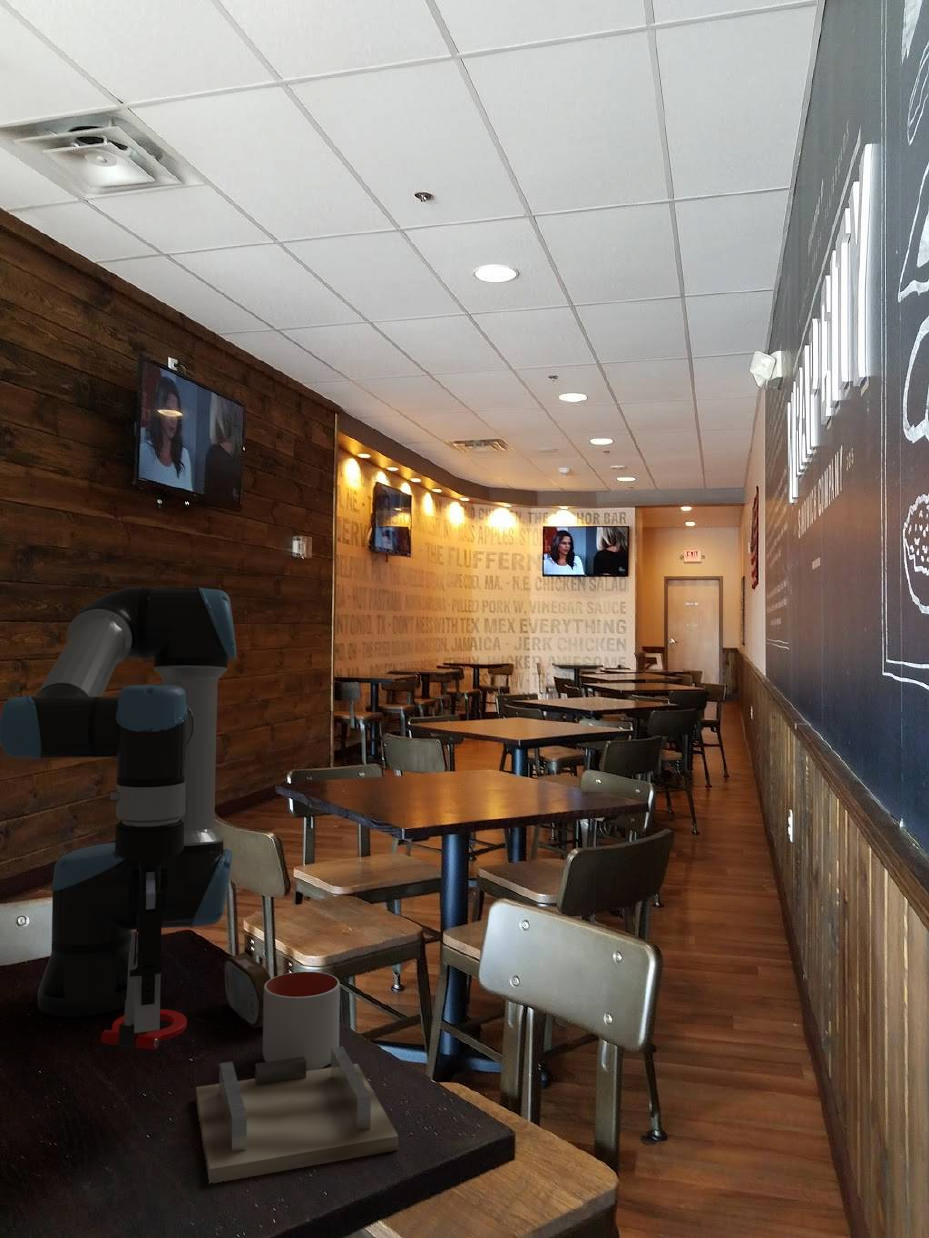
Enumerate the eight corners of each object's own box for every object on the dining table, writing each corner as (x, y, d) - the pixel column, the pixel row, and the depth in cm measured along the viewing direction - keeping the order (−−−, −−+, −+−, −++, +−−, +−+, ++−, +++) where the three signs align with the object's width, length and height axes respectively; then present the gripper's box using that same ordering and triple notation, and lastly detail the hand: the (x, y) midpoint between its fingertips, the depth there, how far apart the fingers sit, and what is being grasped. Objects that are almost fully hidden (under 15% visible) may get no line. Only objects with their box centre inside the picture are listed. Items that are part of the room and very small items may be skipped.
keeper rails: (217, 1085, 113) (217, 1056, 114) (339, 1067, 119) (339, 1039, 119) (231, 1152, 98) (232, 1118, 98) (370, 1128, 103) (370, 1096, 104)
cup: (272, 1043, 129) (273, 970, 130) (344, 1044, 129) (345, 971, 129) (254, 1076, 119) (255, 996, 120) (331, 1077, 119) (332, 998, 119)
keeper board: (195, 1099, 113) (195, 1086, 113) (357, 1075, 120) (357, 1063, 120) (209, 1184, 95) (209, 1169, 95) (398, 1149, 102) (398, 1135, 102)
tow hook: (136, 1015, 116) (92, 1045, 107) (141, 909, 116) (98, 930, 107) (198, 1022, 114) (159, 1053, 105) (203, 915, 114) (165, 937, 105)
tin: (277, 1033, 133) (278, 973, 133) (256, 1038, 131) (257, 977, 131) (239, 1000, 145) (240, 945, 146) (219, 1004, 144) (220, 948, 144)
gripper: (116, 809, 113) (112, 1004, 113) (114, 835, 99) (110, 1058, 99) (180, 806, 116) (177, 997, 115) (188, 830, 102) (184, 1048, 101)
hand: (146, 1024), depth 107 cm, fingers closed on tow hook, 2 cm apart
